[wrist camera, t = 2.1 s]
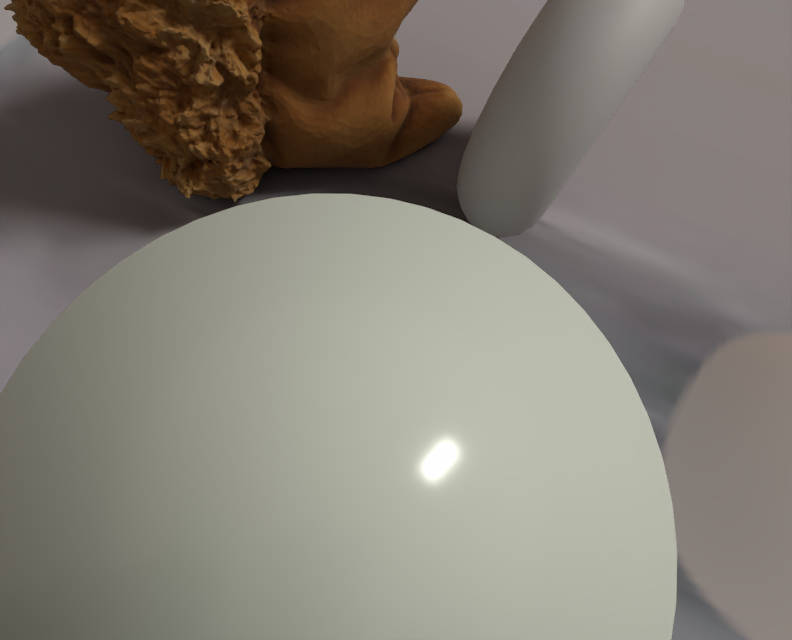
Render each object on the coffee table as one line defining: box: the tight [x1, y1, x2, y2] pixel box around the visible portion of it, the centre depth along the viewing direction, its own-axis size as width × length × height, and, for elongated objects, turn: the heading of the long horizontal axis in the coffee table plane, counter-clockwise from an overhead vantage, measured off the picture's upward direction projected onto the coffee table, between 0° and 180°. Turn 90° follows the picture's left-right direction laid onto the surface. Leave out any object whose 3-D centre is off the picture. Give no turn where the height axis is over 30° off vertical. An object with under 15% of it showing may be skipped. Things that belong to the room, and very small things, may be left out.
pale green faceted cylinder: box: [0, 194, 677, 640], centre depth 11 cm, size 7×7×12 cm
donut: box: [457, 0, 685, 237], centre depth 17 cm, size 10×4×10 cm, turn 145°
